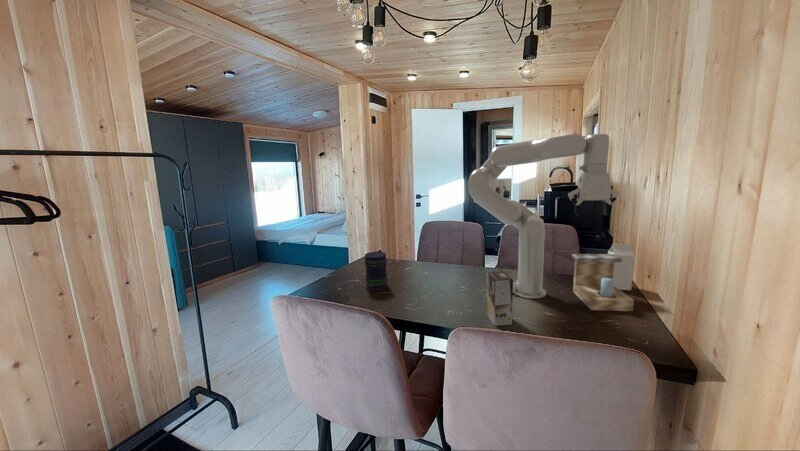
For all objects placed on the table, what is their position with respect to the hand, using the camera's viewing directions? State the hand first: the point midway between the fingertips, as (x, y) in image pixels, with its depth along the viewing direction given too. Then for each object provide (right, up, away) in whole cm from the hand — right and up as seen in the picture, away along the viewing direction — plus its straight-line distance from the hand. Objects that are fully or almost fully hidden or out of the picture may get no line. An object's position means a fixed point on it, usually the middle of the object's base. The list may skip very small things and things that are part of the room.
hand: (591, 215), depth 124 cm
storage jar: (-82, -32, +28) cm, 93 cm away
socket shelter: (+6, -33, +4) cm, 34 cm away
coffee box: (-37, -37, -8) cm, 53 cm away
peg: (+5, -34, 0) cm, 34 cm away
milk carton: (+21, -30, +17) cm, 41 cm away
